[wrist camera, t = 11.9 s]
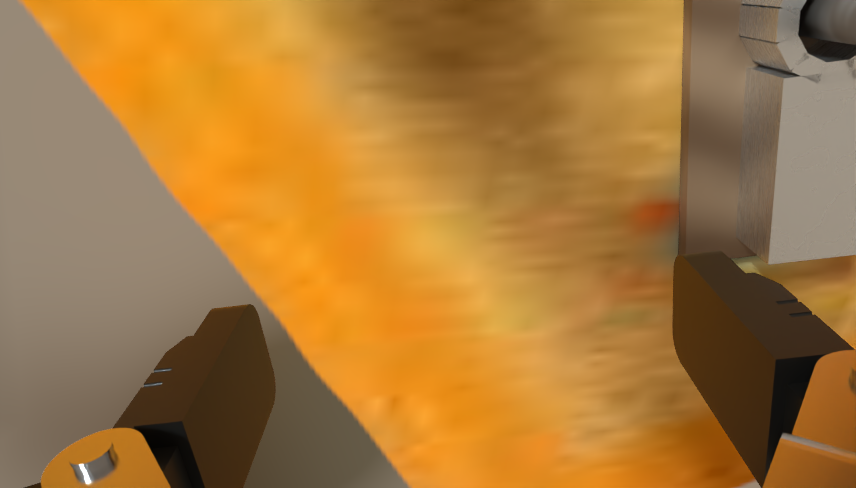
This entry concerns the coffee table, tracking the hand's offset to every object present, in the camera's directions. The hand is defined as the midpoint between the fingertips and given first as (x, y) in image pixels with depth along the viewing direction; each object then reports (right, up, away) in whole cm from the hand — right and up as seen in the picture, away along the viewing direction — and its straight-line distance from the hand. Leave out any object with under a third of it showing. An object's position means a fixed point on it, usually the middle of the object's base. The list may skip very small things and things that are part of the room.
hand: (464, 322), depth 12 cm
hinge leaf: (+19, +9, +23) cm, 31 cm away
